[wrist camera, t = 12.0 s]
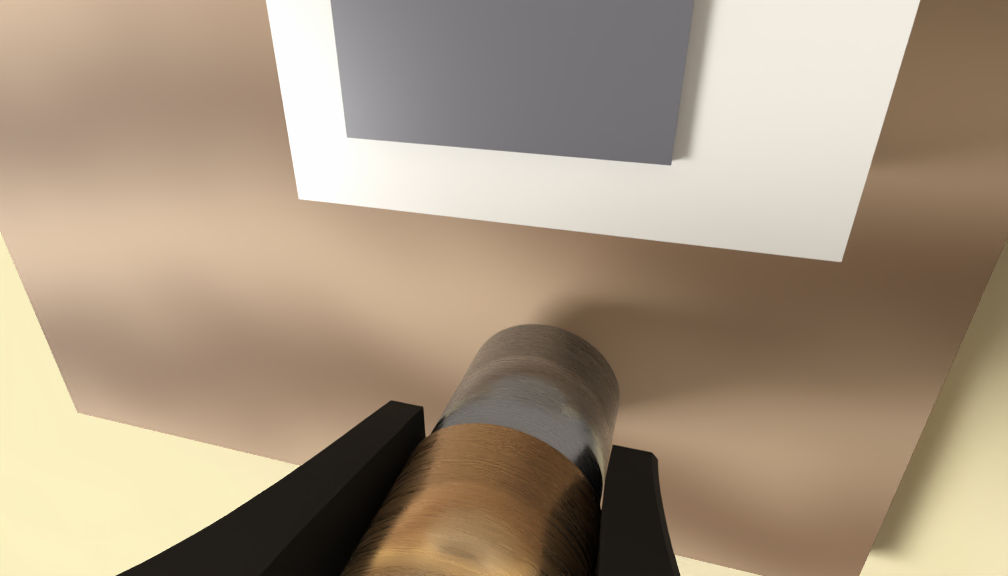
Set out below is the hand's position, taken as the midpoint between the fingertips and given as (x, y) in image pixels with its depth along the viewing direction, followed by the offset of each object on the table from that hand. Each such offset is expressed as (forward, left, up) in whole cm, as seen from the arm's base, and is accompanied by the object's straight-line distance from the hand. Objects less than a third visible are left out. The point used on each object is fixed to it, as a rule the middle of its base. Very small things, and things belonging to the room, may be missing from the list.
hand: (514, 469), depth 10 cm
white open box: (+7, 0, -3) cm, 8 cm away
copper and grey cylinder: (0, 0, -2) cm, 2 cm away
